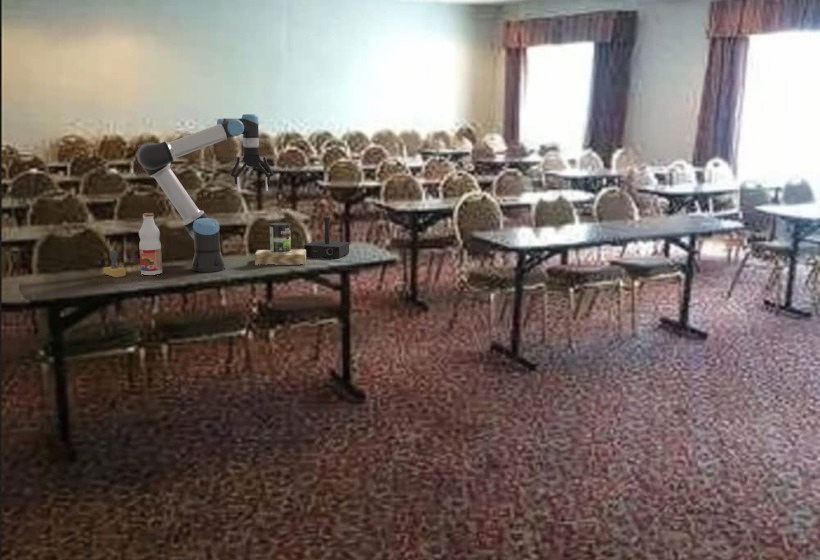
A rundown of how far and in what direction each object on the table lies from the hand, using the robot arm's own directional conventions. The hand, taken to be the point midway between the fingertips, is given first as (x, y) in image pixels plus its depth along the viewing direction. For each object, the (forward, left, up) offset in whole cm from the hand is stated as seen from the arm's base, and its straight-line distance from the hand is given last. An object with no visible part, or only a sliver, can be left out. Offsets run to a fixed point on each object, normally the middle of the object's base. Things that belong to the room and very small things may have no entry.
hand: (252, 190), depth 425 cm
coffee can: (+13, -4, -30) cm, 33 cm away
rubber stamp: (-60, -32, -35) cm, 77 cm away
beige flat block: (+13, -4, -35) cm, 37 cm away
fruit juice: (-44, -30, -35) cm, 64 cm away
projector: (+35, +13, -35) cm, 51 cm away
